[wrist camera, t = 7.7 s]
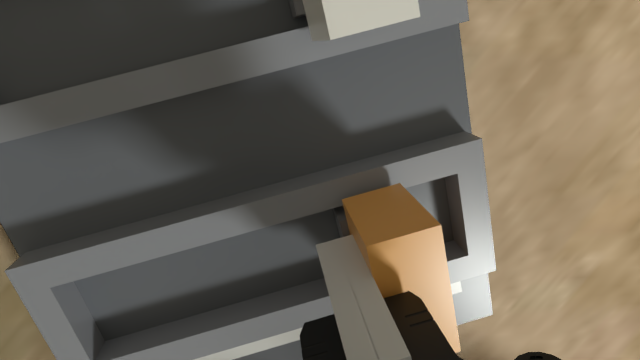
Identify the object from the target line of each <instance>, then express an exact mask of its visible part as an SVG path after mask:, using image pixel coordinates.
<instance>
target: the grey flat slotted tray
mask: <svg viewBox="0 0 640 360" xmlns="http://www.w3.org/2000/svg"><path fill="white" fill-rule="evenodd" d="M418 3H419V10H420V17H418V18H414V19H410V20H406V21H402V22H398V23H395V24H391V25H387V26H383V27H379V28H375V29H371V30H368V31H364V32H360V33H356V34H352V35H348V36H344V37H341V38H337V39H333V40H323V41H312V39H311V35H310V30H309V26H308V22H307V18H306V16H302V17H298V18H294V19H293V17H292V13H291V8H290V4H289V0H0V223H1V224H2V226H3V228H4V230H5V231H6V233H7V235H8V237H9V239H10V240H11V242H12V244H13V246H14V247H15V249H16V251H17V253H18V254H19V256H20V258H18V259H17V260H16V261H15V262H14V263H13V264H12V265H11V266H9V267H8V268H7V269H6V270H5V273H6V274H7V276H8V278H9V279H10V281H11V283H12V285H13V286H14V288H15V290H16V291H17V293H18V295H19V296H20V298H21V300H22V301H23V303H24V305H25V307H26V308H27V310H28V312H29V313H30V315H31V317H32V318H33V320H34V322H35V324H36V325H37V327H38V329H39V330H40V332H41V334H42V335H43V337H44V339H45V341H46V342H47V344H48V346H49V347H50V349H51V351H52V352H53V354H54V356H55V358H56V359H57V360H303V357H302V349H301V342H300V333H301V330H302V328H303V325H304V323H305V322H309V321H312V320H315V319H319V318H322V317H326V316H329V315H332V314H334V311H333V308H332V304H331V300H330V297H329V293H328V289H327V285H326V282H325V278H324V274H323V271H322V267H321V263H320V260H319V256H318V252H317V248H316V245H317V244H321V243H324V242H328V241H331V240H335V239H338V238H340V235H339V231H338V227H337V223H336V219H335V215H334V211H333V208H336V207H340V206H343V203H342V199H344V198H348V197H352V196H355V195H359V194H362V193H366V192H369V191H373V190H377V189H380V188H384V187H387V186H391V185H394V184H398V183H400V184H401V185H402V186H403V187H404V188H405V189H406V190H407V191H408V192H409V193H410V194H411V195H412V196H413V197H414V198H415V199H416V200H417V201H418V202H419V203H420V204H421V205H422V206H423V207H424V208H425V209H426V210H427V211H428V212H429V213H430V214H431V215H432V216H433V217H434V218H435V219H436V220H437V221H438V222H439V223H440V224H441V226H442V232H443V239H444V245H445V252H446V258H447V265H448V271H449V277H450V284H451V290H452V297H453V303H454V310H455V316H456V322H457V325H460V324H463V323H467V322H470V321H473V320H477V319H480V318H483V317H487V316H490V315H493V312H492V303H491V295H490V286H489V278H488V273H489V272H493V271H496V264H495V255H494V245H493V236H492V227H491V218H490V208H489V199H488V190H487V181H486V172H485V162H484V153H483V144H482V138H480V137H477V136H475V135H473V134H472V132H471V124H470V115H469V107H468V98H467V90H466V81H465V73H464V64H463V55H462V47H461V38H460V30H459V23H462V22H466V21H469V15H468V6H467V0H418Z"/></svg>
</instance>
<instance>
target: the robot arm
mask: <svg viewBox="0 0 640 360" xmlns="http://www.w3.org/2000/svg"><path fill="white" fill-rule="evenodd" d="M316 248H317V252H318V256H319V260H320V263H321V267H322V271H323V274H324V278H325V282H326V285H327V289H328V293H329V297H330V300H331V304H332V308H333V311H334V314H332V315H329V316H326V317H322V318H319V319H315V320H312V321H309V322H305V323H304V325H303V328H302V330H301V333H300V342H301V349H302V357H303V360H463V359H461V358H459V357H458V356H457V355H456V353H455V352H454V350H453V349H452V347H451V345H450V344H449V342H448V341H447V339H446V337H445V336H444V334H443V333H442V331H441V329H440V328H439V326H438V325H437V323H436V322H435V320H434V319H433V317H432V315H431V314H430V312H429V311H428V309H427V307H426V306H425V304H424V302H423V301H422V299H421V298H420V297H418V296H416V295H415V294H413V293H412V292H410V291H407V292H403V293H400V294H397V295H393V296H390V297H386V298H383V297H382V295H381V292H380V290H379V288H378V286H377V284H376V282H375V280H374V278H373V276H372V274H371V272H370V270H369V268H368V266H367V264H366V262H365V260H364V258H363V255H362V253H361V251H360V249H359V247H358V245H357V243H356V241H355V239H354V237H353V235H349V236H345V237H342V238H338V239H335V240H331V241H328V242H324V243H321V244H317V245H316ZM515 360H561V359H559V358H557V357H555V356H553V355H551V354H546V353H542V352H528V353H525V354H522V355H519V356H518V357H517V358H516V359H515Z"/></svg>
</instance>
